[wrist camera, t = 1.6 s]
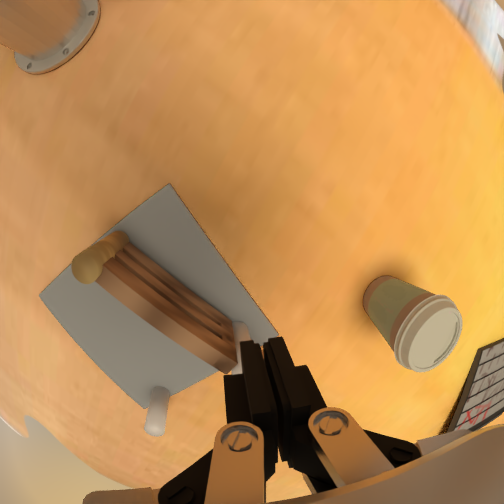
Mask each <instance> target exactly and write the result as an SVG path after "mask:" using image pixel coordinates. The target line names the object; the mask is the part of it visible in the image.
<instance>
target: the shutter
mask: <svg viewBox="0 0 504 504" xmlns="http://www.w3.org/2000/svg"><path fill="white" fill-rule="evenodd" d="M503 412H504V338H503V339H501V340H498V341H496V342H494V343H491V344H489V345H487V346H484V347H482V348H479V349H478V351H477V353H476V356H475V358H474V361H473V363H472V366H471V369H470V372H469V375H468V378H467V382H466V385H465V387H464V390H463V393H462V396H461V399H460V401H459V404H458V407H457V409H456V412H455V414H454V417H453V419H452V421H451V424H450V426H449V428H448V431H447V433H449V432H452V431H456V430H460V429H467V430H470V431H472V432H474V431H477V430H479V429H480V428H482V427H484V426H485V425H487V424H488V423H490V422H491V421H493V420H494V419H496V418H497V417H499V416H500V415H501V414H502V413H503Z"/></svg>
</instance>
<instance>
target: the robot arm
mask: <svg viewBox="0 0 504 504" xmlns="http://www.w3.org/2000/svg"><path fill="white" fill-rule="evenodd" d="M99 17H100V3H99V1H98V0H0V44H2V45H4V46H6V47H8V48H10V49H12V50H13V51H14V57H15V61H16V63H17V65H18V67H19V68H21V69H22V70H23V71H25V72H27V73H31V74H42V73H45V72H49V71H51V70H53V69H55V68H58V67H59V66H61V65H62V64H64V63H65V62H67V61H68V60H69V59H70V58H72V57H73V56H74V55H75V54H76V53H77V52H78V51H79V50H80V49H81V48H82V47H83V46H84V44H85V43H86V42H87V41H88V39H89V38H90V36H91V35H92V33H93V32H94V30H95V28H96V26H97V23H98V20H99ZM239 343H240V354H241V365H242V374H233V375H224V390H225V403H226V416H227V425H225V426H223V427H222V428H221V429H220V430H219V431H218V432H217V434H216V437H215V442H214V448H213V449H212V450H211V451H209V452H208V453H207V454H206V455H204V456H203V457H202V458H200V459H199V460H198V461H196V462H195V463H194V464H193V465H191V466H190V467H189V468H187V469H186V470H184V471H183V472H182V473H180V474H179V475H178V476H176V477H175V478H173V479H172V480H170V481H169V482H168V483H166V484H165V485H164V486H163V487H162V488H161V489H153V490H152V488H151V487H148V488H139V489H127V490H110V491H95V492H91V493H90V494H88V495H86V497H85V498H84V499H83V504H504V424H498V425H494V426H489V427H486V428H482V429H479V430H477V431H474V432H472V431H470V430H467V429H460V430H456V431H452V432H449V433H445V434H442V435H438V436H434V437H430V438H426V439H421V440H417V442H416V443H415V444H413V443H410V442H408V441H405V440H400V439H397V438H393V437H389V436H385V435H381V434H378V433H374V432H371V431H368V430H364V429H362V428H361V427H360V426H359V424H358V423H357V422H356V421H355V420H354V418H353V417H352V416H351V415H350V414H349V413H348V412H347V411H345V410H343V409H340V408H335V407H328V408H327V406H326V404H325V402H324V400H323V398H322V395H321V393H320V391H319V389H318V387H317V385H316V383H315V381H314V379H313V377H312V375H311V373H310V370H309V368H308V367H307V366H306V365H302V366H296V367H295V366H294V363H293V361H292V358H291V356H290V354H289V351H288V349H287V346H286V344H285V342H284V339H283V337H274V338H268V342H263V353H264V359H263V355H262V351H261V348H260V344H259V343H254V341H253V340H248V341H239ZM278 448H279V452H280V456H281V460H282V462H284V461H287V462H288V465H289V468H294V469H295V470H297V471H299V472H302V475H303V478H304V480H305V482H306V484H307V486H308V487H309V489H310V491H311V493H312V495H308V496H303V497H298V498H293V499H287V500H282V501H275V502H269V503H266V481H267V480H268V479H269V478H270V477H271V476H272V475H273V474H274V473H275V463H277V462H278Z"/></svg>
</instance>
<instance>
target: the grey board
mask: <svg viewBox="0 0 504 504" xmlns="http://www.w3.org/2000/svg"><path fill="white" fill-rule="evenodd" d="M114 231H122V232H124V233H125V234H126V235H127V236H128V238H129V242H130V243H132V244H133V245H134V246H135V247H136V248H138V249H139V250H140V251H141V252H143V253H144V254H145V255H146V256H147V257H149V258H150V259H151V260H152V261H154V262H155V263H156V264H157V265H159V266H160V267H161V268H162V269H164V270H165V271H166V272H167V273H169V274H170V275H171V276H173V277H174V278H175V279H176V280H178V281H179V282H180V283H182V284H183V285H184V286H185V287H187V288H188V289H189V290H191V291H192V292H193V293H195V294H196V295H197V296H199V297H200V298H201V299H203V300H204V301H205V302H207V303H208V304H209V305H211V306H212V307H213V308H215V309H216V310H217V311H219V312H220V313H222V314H223V315H224V316H226V317H227V318H229V319H230V320H231V321H232V325H233V332H234V340H235V347H236V354H237V361H238V364H237V365H236V366H235V367H234V368H233V369H232V370H231V371H232V375H233V374H242V365H241V354H240V343H239V341H248V340H253V341H254V343H259V344H260V346H262V345H263V342H268V338H274V337H277V336H278V335H279V334H278V332H277V331H276V330H275V328H274V327H273V326H272V324H271V323H270V322H269V320H268V319H267V318H266V316H265V315H264V314H263V312H262V311H261V310H260V308H259V307H258V306H257V304H256V303H255V302H254V300H253V299H252V298H251V296H250V295H249V293H248V292H247V291H246V289H245V288H244V287H243V285H242V284H241V283H240V281H239V280H238V278H237V277H236V276H235V274H234V273H233V272H232V270H231V269H230V267H229V266H228V265H227V263H226V262H225V261H224V259H223V258H222V256H221V255H220V254H219V252H218V251H217V249H216V248H215V247H214V245H213V244H212V243H211V241H210V240H209V238H208V237H207V236H206V234H205V233H204V231H203V230H202V228H201V227H200V226H199V224H198V223H197V221H196V220H195V219H194V217H193V216H192V214H191V213H190V211H189V210H188V209H187V207H186V206H185V204H184V203H183V201H182V200H181V199H180V197H179V196H178V194H177V193H176V191H175V190H174V189H173V187H172V186H171V184H170V183H169V184H168V185H166V186H165V187H164V188H162V189H161V190H160V191H158V192H157V193H156V194H154V195H153V196H152V197H150V198H149V199H148V200H146V201H145V202H144V203H142V204H141V205H140V206H139V207H137V208H136V209H135V210H133V211H132V212H131V213H130V214H128V215H127V216H126V217H125V218H123V219H122V220H121V221H120V222H119V223H117V224H116V225H115V226H114V227H113V228H111V229H110V230H109V231H108V232H107V233H105V234H104V235H103V236H102V237H101V238H100V239H98V240H97V241H96V242H95V243H97V242H98V241H100V240H101V239H103V238H105V237H106V236H108V235H109V234H111V233H113V232H114ZM95 243H94V244H95ZM91 246H92V245H91ZM71 264H72V263H71ZM71 264H70V265H69V266H68V267H67V268H66V269H65V270H64V271H63V272H62V273H61V274H60V275H59V276H58V277H57V278H56V279H55V280H54V281H53V282H52V283H51V284H50V285H49V286H48V287H46V288H45V289H44V291H43V292H42V293H41V294H40V295H39V297H40V298H41V300H42V301H43V302H44V304H45V305H46V306H47V308H48V309H49V310H50V311H51V313H52V314H53V315H54V317H55V318H56V319H57V320H58V322H59V323H60V324H61V325H62V326H63V328H64V329H65V330H66V331H67V332H68V334H69V335H70V336H71V337H72V338H73V339H74V341H75V342H76V343H77V344H78V345H79V346H80V347H81V348H82V349H83V351H84V352H85V353H86V354H87V355H88V356H89V357H90V358H91V359H92V360H93V361H94V362H95V363H96V364H97V365H98V366H99V368H100V369H101V370H102V371H103V372H104V373H105V374H106V375H107V376H108V377H110V378H111V379H112V380H113V381H114V382H115V383H116V384H117V385H118V386H119V387H120V388H121V389H122V390H123V391H124V392H125V393H126V394H128V395H129V396H130V397H131V398H132V399H133V400H134V401H135V402H137V403H138V404H139V405H140V406H141V407H142V408H143V409H146V408H148V412H147V417H146V422H145V427H144V430H145V431H146V433H148V434H149V435H152V436H162V435H163V434H164V432H165V425H166V417H167V410H168V403H169V397H170V396H172V395H174V394H176V393H178V392H180V391H182V390H184V389H186V388H188V387H190V386H191V385H193V384H195V383H197V382H199V381H201V380H203V379H205V378H206V377H208V376H210V375H212V374H214V373H215V372H217V371H219V370H218V369H216V368H214V367H213V366H211V365H210V364H208V363H206V362H205V361H203V360H202V359H200V358H198V357H197V356H195V355H194V354H192V353H191V352H189V351H188V350H186V349H185V348H183V347H182V346H180V345H179V344H177V343H176V342H174V341H173V340H171V339H170V338H168V337H167V336H166V335H164V334H163V333H161V332H160V331H159V330H157V329H156V328H154V327H153V326H152V325H150V324H149V323H147V322H146V321H145V320H143V319H142V318H141V317H139V316H138V315H137V314H135V313H134V312H133V311H131V310H130V309H129V308H127V307H126V306H125V305H124V304H122V303H121V302H120V301H118V300H117V299H116V298H115V297H113V296H112V295H111V294H110V293H108V292H107V291H106V290H105V289H104V288H102V287H101V286H100V285H99V284H98V283H96V282H95V281H94V282H93V283H91V284H83V283H81V282H79V281H78V280H77V279H76V278H75V277H74V275H73V273H72V269H71ZM261 351H262V350H261ZM262 355H263V359H264V353H263V351H262Z"/></svg>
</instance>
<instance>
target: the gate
mask: <svg viewBox="0 0 504 504" xmlns="http://www.w3.org/2000/svg"><path fill="white" fill-rule="evenodd" d="M71 269H72V273H73V275H74V277H75V278H76V279H77V280H78V281H79V282H81V283H83V284H91V283H93V282H94V281H95V282H96V283H98V284H99V285H100V286H101V287H102V288H104V289H105V290H106V291H107V292H108V293H110V294H111V295H112V296H113V297H115V298H116V299H117V300H118V301H120V302H121V303H122V304H124V305H125V306H126V307H127V308H129V309H130V310H131V311H133V312H134V313H135V314H137V315H138V316H139V317H141V318H142V319H143V320H145V321H146V322H147V323H149V324H150V325H152V326H153V327H154V328H156V329H157V330H159V331H160V332H161V333H163V334H164V335H166V336H167V337H168V338H170V339H171V340H173V341H174V342H176V343H177V344H179V345H180V346H182V347H183V348H185V349H186V350H188V351H189V352H191V353H192V354H194V355H195V356H197V357H198V358H200V359H202V360H203V361H205V362H206V363H208V364H210V365H211V366H213V367H214V368H216V369H218V370H219V371H221V372H223V373H224V374H227V373H229V372H230V371H231V370H232V369H233V368H234V367H235V366H236V365H237V364H238V361H237V354H236V347H235V340H234V332H233V325H232V321H231V320H230V319H229V318H227V317H226V316H224V315H223V314H222V313H220V312H219V311H217V310H216V309H215V308H213V307H212V306H211V305H209V304H208V303H207V302H205V301H204V300H203V299H201V298H200V297H199V296H197V295H196V294H195V293H193V292H192V291H191V290H189V289H188V288H187V287H185V286H184V285H183V284H182V283H180V282H179V281H178V280H176V279H175V278H174V277H173V276H171V275H170V274H169V273H167V272H166V271H165V270H164V269H162V268H161V267H160V266H159V265H157V264H156V263H155V262H154V261H152V260H151V259H150V258H149V257H147V256H146V255H145V254H144V253H143V252H141V251H140V250H139V249H138V248H136V247H135V246H134V245H133V244H132V243H130V242H129V238H128V236H127V235H126V234H125V233H124V232H122V231H114V232H113V233H111V234H109V235H108V236H106V237H105V238H103V239H101V240H100V241H98V242H97V243H95V244H93V245H92V246H90V247H89V248H87V249H86V250H84V251H83V252H81V253H80V254H78V255H77V256H75V257H74V259H73V261H72V264H71Z"/></svg>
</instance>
